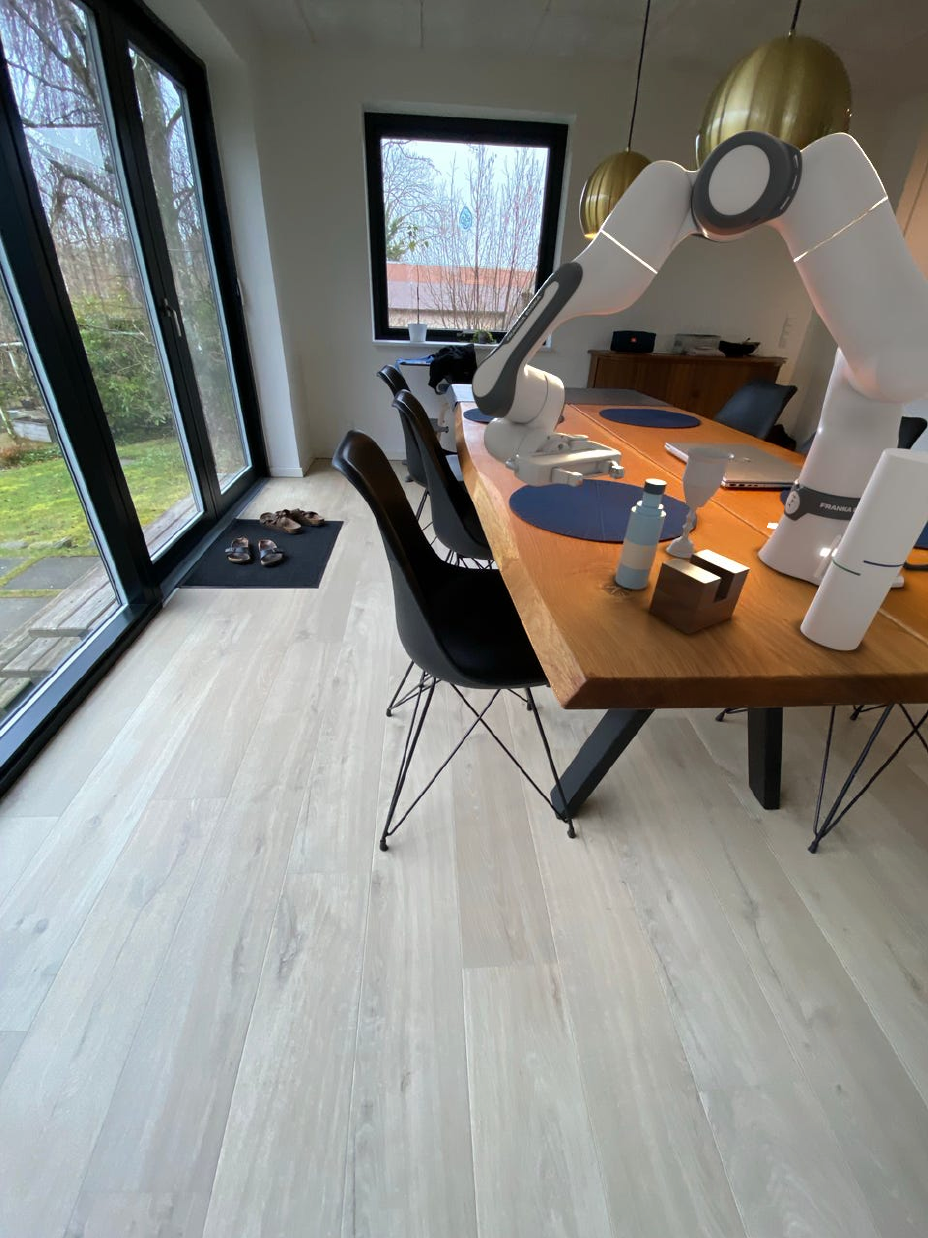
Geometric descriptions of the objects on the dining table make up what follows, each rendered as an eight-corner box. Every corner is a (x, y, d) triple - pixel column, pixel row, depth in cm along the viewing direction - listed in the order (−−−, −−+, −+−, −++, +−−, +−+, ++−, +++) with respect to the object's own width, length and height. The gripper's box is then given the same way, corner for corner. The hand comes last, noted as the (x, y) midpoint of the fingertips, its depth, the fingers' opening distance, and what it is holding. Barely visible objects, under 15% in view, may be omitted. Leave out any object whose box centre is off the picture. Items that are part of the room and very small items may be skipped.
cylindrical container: (859, 656, 69) (965, 468, 56) (799, 638, 72) (885, 456, 59) (857, 632, 74) (954, 455, 61) (801, 616, 78) (882, 445, 64)
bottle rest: (648, 611, 77) (662, 562, 72) (691, 596, 81) (706, 549, 77) (687, 634, 72) (705, 583, 67) (731, 617, 76) (750, 568, 72)
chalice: (700, 548, 97) (732, 450, 88) (702, 563, 92) (735, 460, 82) (660, 541, 99) (686, 445, 90) (659, 555, 94) (687, 454, 84)
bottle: (616, 598, 84) (584, 518, 86) (638, 591, 87) (606, 513, 89) (686, 567, 72) (646, 473, 74) (709, 560, 74) (670, 469, 76)
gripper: (501, 443, 88) (555, 465, 78) (589, 433, 97) (647, 451, 88) (498, 480, 91) (549, 505, 81) (584, 467, 101) (639, 488, 91)
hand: (601, 477), depth 85 cm, fingers open, 8 cm apart
